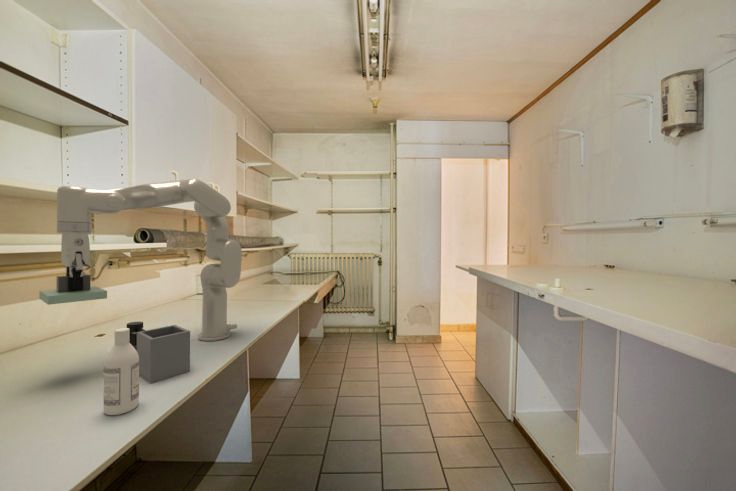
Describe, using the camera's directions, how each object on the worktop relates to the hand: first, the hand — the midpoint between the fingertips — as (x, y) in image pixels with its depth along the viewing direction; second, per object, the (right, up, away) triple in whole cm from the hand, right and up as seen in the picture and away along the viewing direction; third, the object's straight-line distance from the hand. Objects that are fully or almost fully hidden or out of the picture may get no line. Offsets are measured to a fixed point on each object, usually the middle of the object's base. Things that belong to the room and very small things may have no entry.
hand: (74, 289), depth 93 cm
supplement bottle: (+4, -27, +18) cm, 32 cm away
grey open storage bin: (+23, -27, +6) cm, 36 cm away
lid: (0, -3, 0) cm, 3 cm away
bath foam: (+26, -28, -15) cm, 41 cm away
